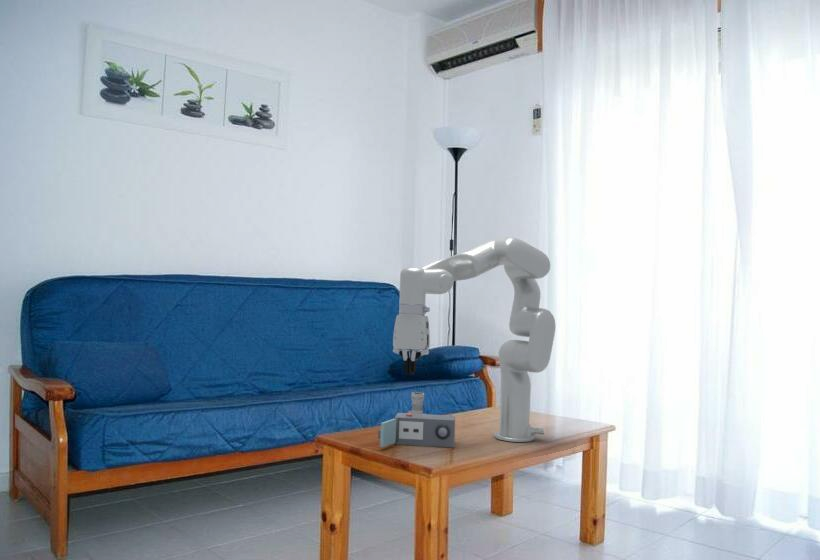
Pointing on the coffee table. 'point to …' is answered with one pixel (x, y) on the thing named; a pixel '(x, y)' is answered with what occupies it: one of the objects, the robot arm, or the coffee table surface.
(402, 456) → the coffee table surface
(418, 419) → the housing
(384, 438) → the side door
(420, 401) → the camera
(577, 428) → the coffee table surface
